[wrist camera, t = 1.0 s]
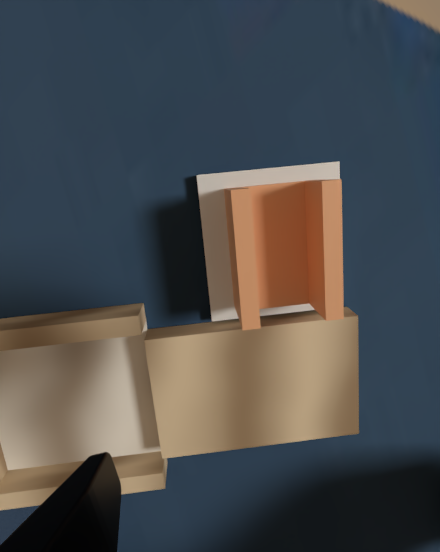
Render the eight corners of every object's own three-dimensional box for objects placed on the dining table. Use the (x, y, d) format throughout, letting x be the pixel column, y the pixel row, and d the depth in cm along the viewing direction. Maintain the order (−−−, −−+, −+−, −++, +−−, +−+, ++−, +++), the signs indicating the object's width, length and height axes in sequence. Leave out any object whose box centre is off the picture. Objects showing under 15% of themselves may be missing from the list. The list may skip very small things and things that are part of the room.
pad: (335, 162, 19) (339, 161, 19) (337, 303, 21) (341, 306, 21) (196, 175, 19) (196, 175, 18) (211, 317, 21) (212, 321, 20)
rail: (346, 280, 21) (362, 290, 19) (348, 439, 23) (362, 462, 21) (-50, 324, 20) (-76, 339, 18) (-5, 484, 22) (-23, 513, 20)
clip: (314, 179, 19) (341, 179, 15) (318, 296, 20) (343, 318, 17) (223, 188, 19) (230, 190, 15) (234, 305, 20) (242, 330, 17)
